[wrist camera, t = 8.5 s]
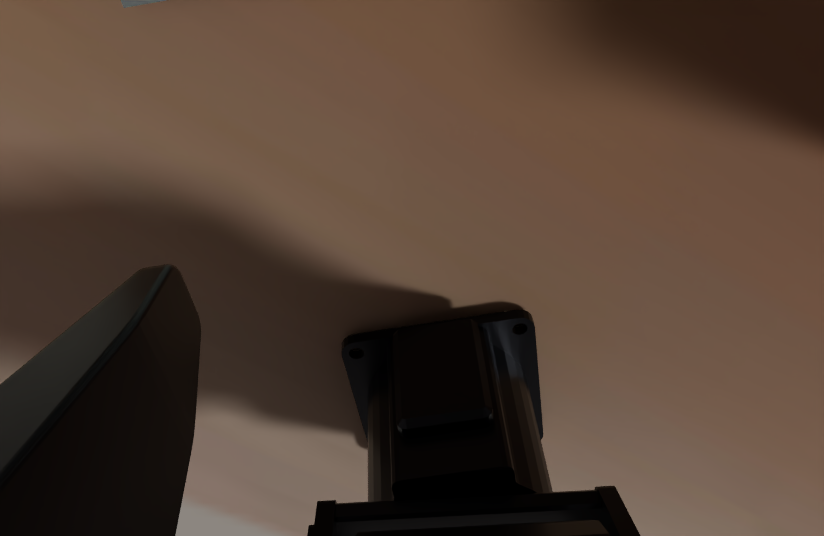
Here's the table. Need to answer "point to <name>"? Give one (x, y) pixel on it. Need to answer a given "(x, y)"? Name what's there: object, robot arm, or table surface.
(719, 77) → the table surface
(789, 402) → the table surface
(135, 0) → the mat
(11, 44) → the table surface
